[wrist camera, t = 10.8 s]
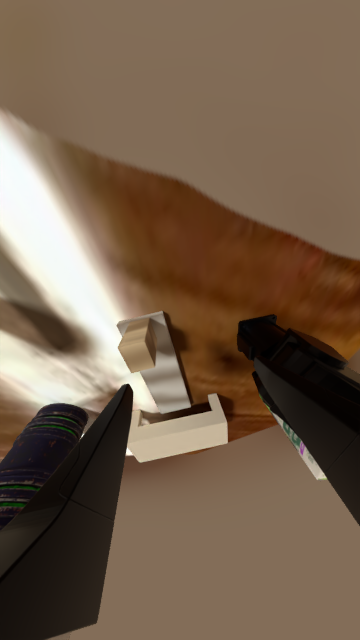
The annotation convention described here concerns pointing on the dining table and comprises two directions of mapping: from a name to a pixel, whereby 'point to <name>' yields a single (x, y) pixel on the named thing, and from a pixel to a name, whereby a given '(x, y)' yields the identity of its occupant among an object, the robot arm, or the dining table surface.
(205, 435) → the cream bridge block
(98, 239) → the dining table surface
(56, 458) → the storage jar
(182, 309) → the dining table surface
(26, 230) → the dining table surface
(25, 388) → the dining table surface
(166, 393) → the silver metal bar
